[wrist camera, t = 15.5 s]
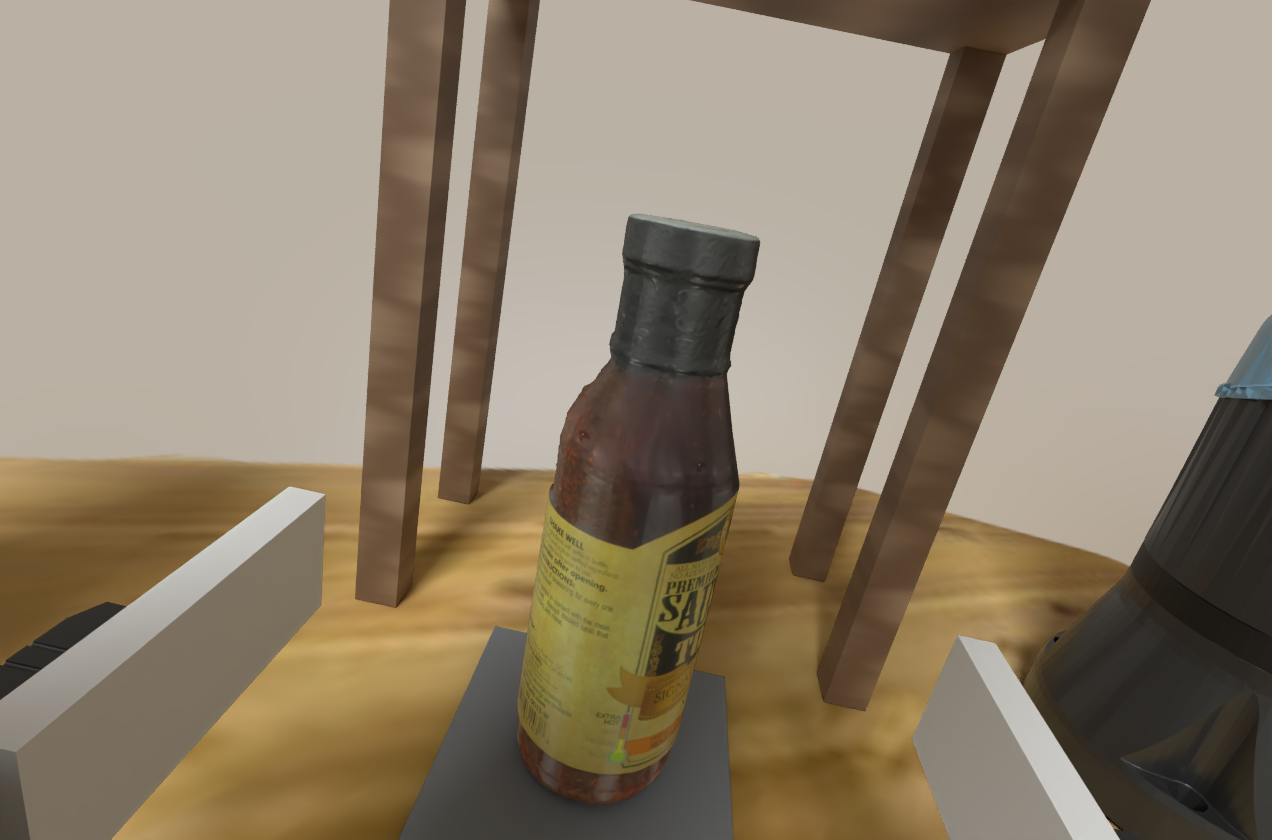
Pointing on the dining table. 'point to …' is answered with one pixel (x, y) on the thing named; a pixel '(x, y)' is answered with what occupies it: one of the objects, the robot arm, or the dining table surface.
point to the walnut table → (965, 349)
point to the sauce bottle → (636, 520)
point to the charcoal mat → (534, 815)
